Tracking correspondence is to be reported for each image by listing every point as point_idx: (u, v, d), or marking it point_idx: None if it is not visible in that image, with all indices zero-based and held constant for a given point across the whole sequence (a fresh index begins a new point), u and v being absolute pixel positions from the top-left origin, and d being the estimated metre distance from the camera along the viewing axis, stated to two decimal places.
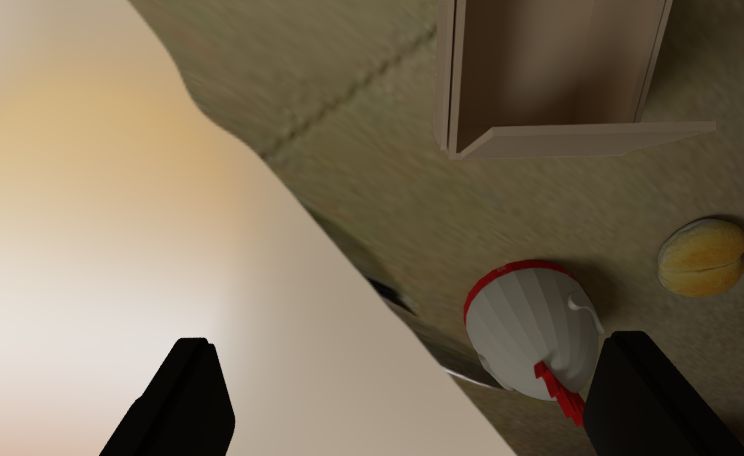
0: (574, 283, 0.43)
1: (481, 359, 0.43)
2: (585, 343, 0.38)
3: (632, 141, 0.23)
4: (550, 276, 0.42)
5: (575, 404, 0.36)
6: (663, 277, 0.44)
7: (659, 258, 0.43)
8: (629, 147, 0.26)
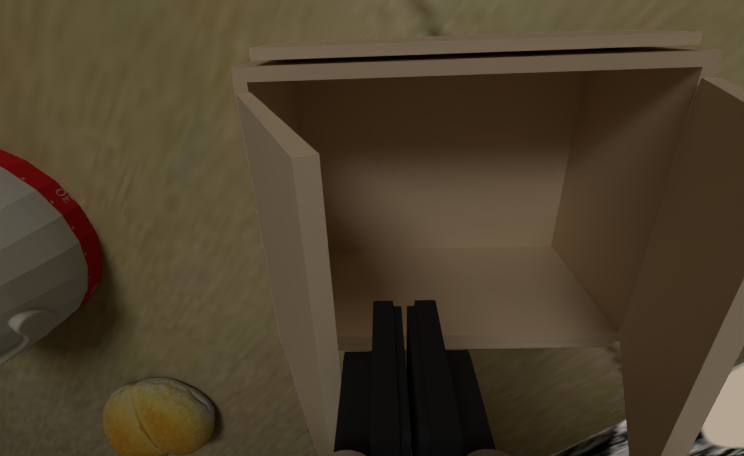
0: (74, 304, 0.28)
1: None
2: None
3: (306, 395, 0.13)
4: (70, 272, 0.26)
5: None
6: (122, 393, 0.33)
7: (147, 381, 0.33)
8: (294, 372, 0.16)
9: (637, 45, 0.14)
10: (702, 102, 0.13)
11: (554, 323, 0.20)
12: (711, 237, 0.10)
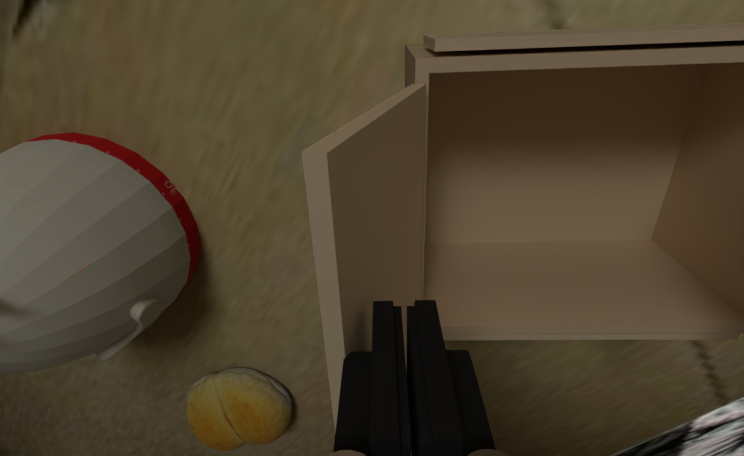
0: (175, 295, 0.28)
1: None
2: (69, 350, 0.22)
3: None
4: (178, 263, 0.26)
5: None
6: (206, 383, 0.33)
7: (230, 371, 0.34)
8: None
9: None
10: None
11: (684, 315, 0.20)
12: None
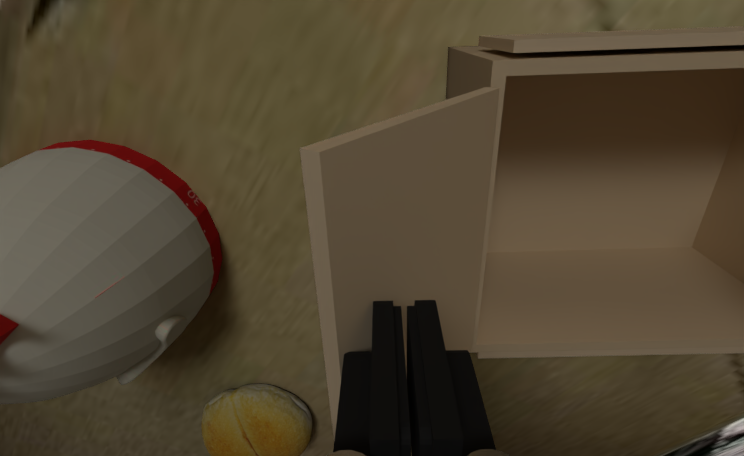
0: (197, 311, 0.26)
1: None
2: (92, 375, 0.20)
3: None
4: (203, 277, 0.25)
5: None
6: (223, 401, 0.32)
7: (248, 387, 0.32)
8: None
9: None
10: None
11: None
12: None
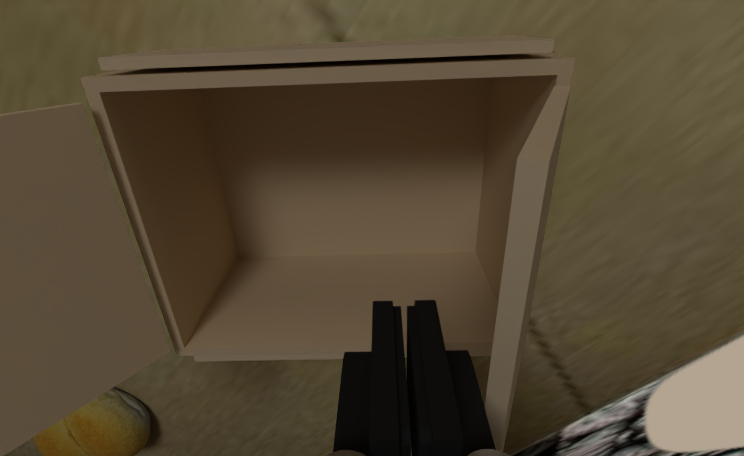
0: None
1: None
2: None
3: None
4: None
5: None
6: None
7: None
8: None
9: (490, 53, 0.14)
10: None
11: (454, 331, 0.20)
12: None
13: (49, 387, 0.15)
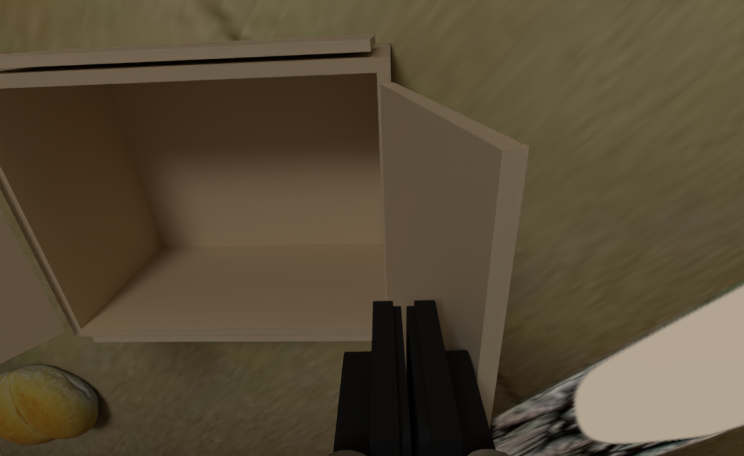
0: None
1: None
2: None
3: None
4: None
5: None
6: (1, 379, 0.34)
7: (25, 368, 0.35)
8: None
9: (312, 53, 0.14)
10: (389, 107, 0.13)
11: (334, 317, 0.21)
12: (441, 243, 0.10)
13: None
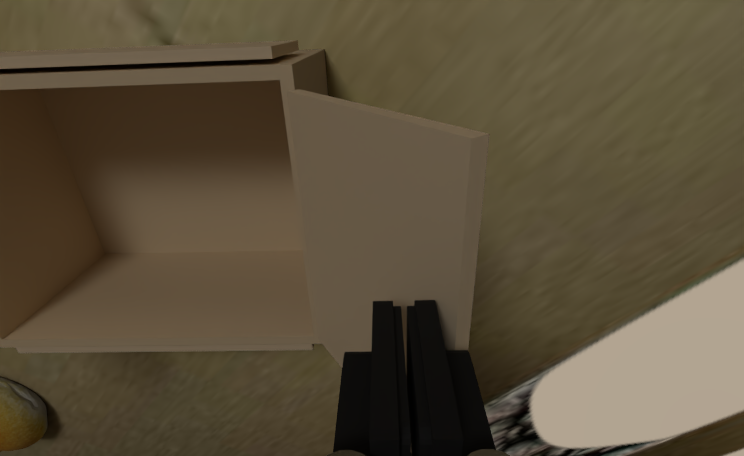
0: None
1: None
2: None
3: None
4: None
5: None
6: None
7: None
8: None
9: (214, 59, 0.14)
10: (303, 114, 0.13)
11: (263, 326, 0.21)
12: (394, 236, 0.11)
13: None
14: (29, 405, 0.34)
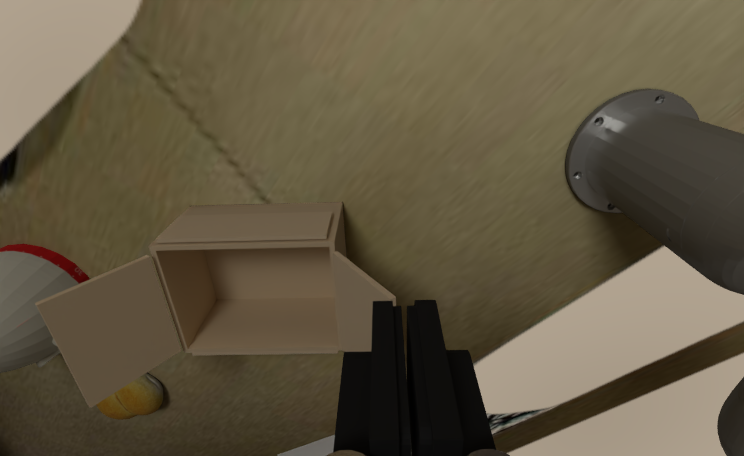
0: None
1: None
2: (18, 362, 0.43)
3: None
4: None
5: None
6: None
7: None
8: None
9: (303, 239, 0.36)
10: (339, 264, 0.35)
11: (314, 341, 0.42)
12: None
13: (133, 365, 0.38)
14: (156, 387, 0.56)
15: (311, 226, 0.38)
